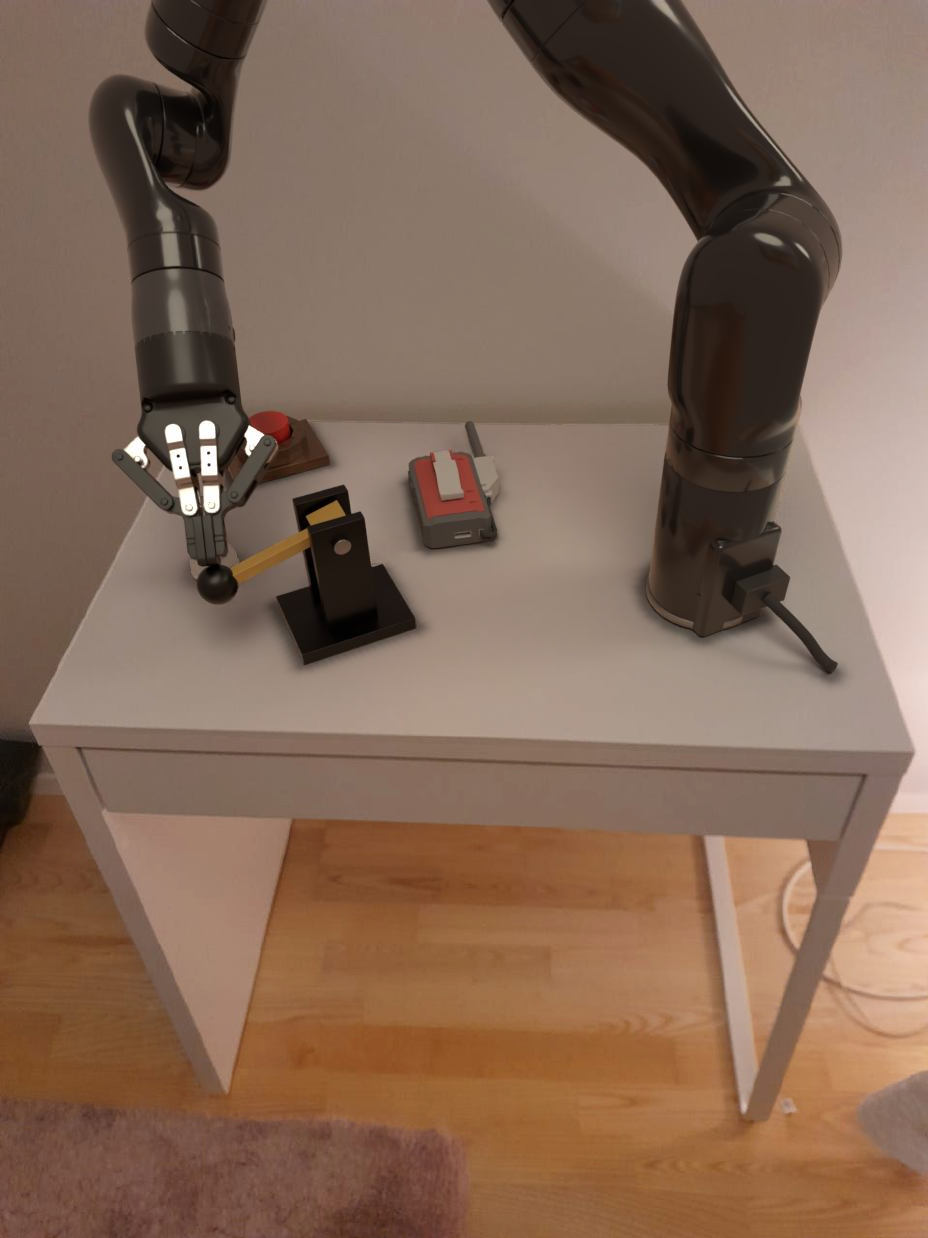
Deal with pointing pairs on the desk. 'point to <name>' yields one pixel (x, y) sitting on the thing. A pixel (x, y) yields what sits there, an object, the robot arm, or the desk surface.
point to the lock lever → (258, 561)
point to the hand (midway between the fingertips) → (210, 564)
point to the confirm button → (272, 425)
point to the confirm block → (289, 453)
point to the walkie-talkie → (455, 495)
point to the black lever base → (340, 585)
